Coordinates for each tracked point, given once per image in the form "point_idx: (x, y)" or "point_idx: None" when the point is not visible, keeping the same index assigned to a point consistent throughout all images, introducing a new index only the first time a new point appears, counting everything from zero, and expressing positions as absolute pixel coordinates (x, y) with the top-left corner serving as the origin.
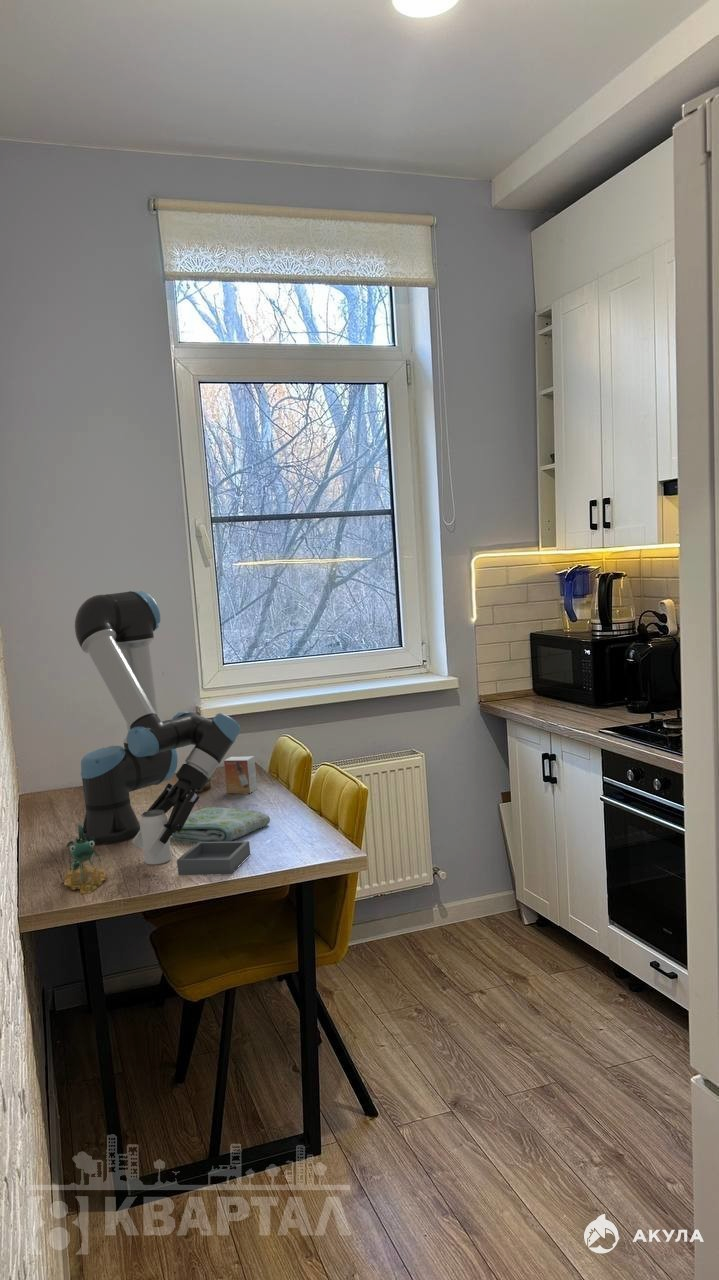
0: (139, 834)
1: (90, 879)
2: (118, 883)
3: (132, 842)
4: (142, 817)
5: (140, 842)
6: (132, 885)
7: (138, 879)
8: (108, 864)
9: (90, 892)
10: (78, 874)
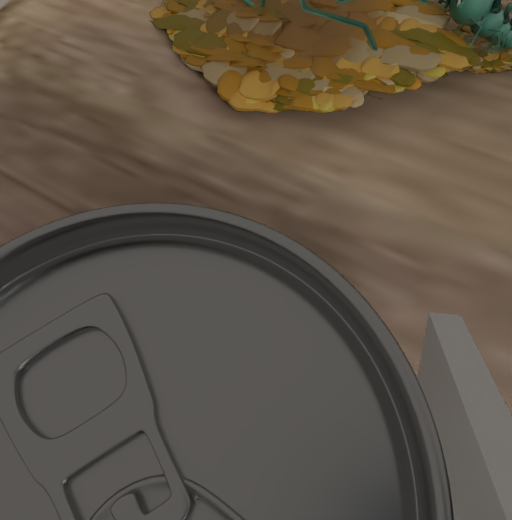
0: (452, 385)
1: (243, 26)
2: (135, 127)
3: (441, 316)
4: (183, 225)
5: (427, 398)
6: (42, 154)
7: (82, 210)
8: (501, 225)
9: (152, 15)
10: (351, 2)
